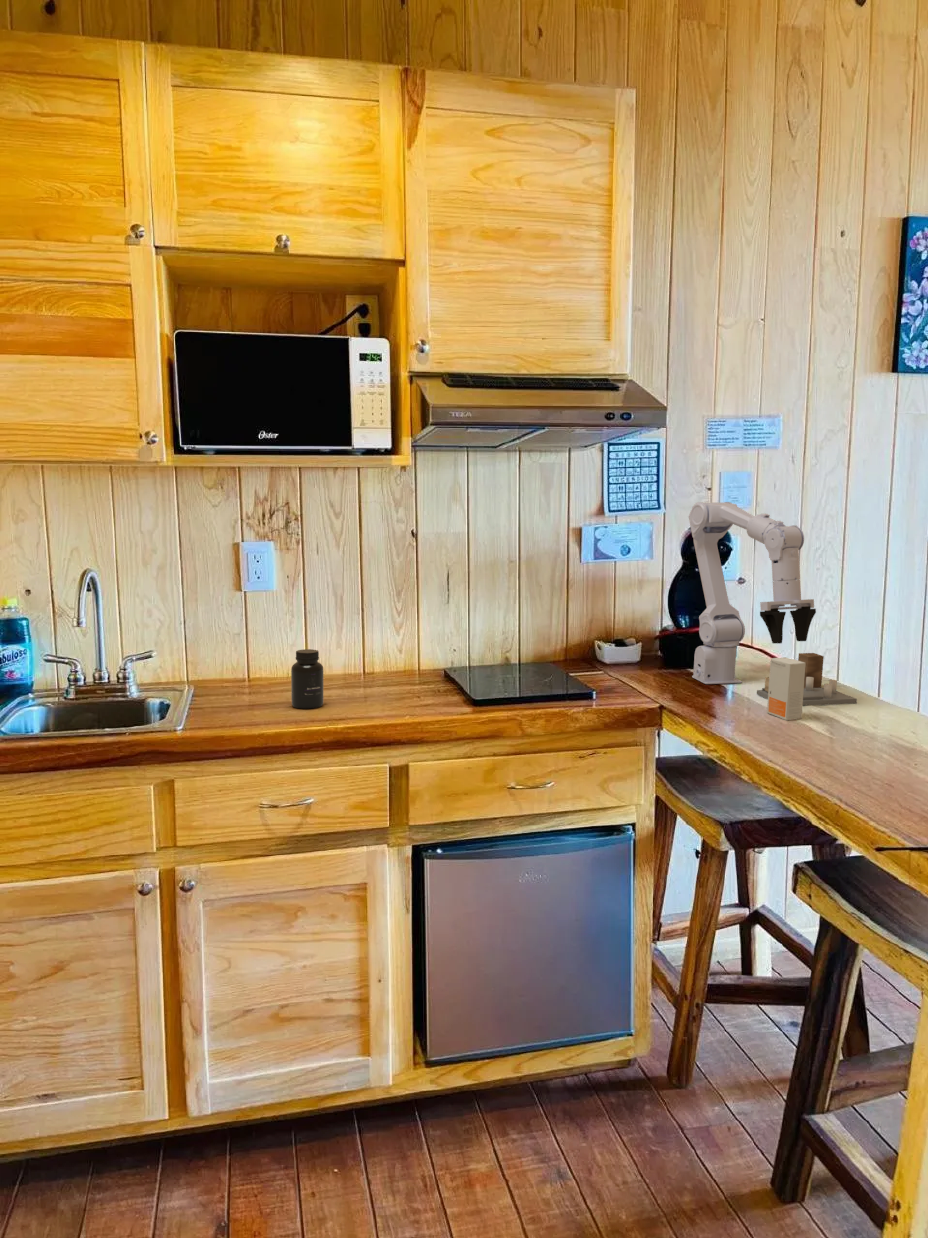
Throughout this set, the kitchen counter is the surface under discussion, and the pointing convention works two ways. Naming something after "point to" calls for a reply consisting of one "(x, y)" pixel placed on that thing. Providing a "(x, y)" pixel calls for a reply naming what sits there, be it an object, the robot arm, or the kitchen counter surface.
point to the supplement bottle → (307, 680)
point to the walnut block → (812, 667)
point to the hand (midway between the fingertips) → (789, 642)
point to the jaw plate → (766, 683)
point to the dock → (819, 694)
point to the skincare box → (786, 688)
